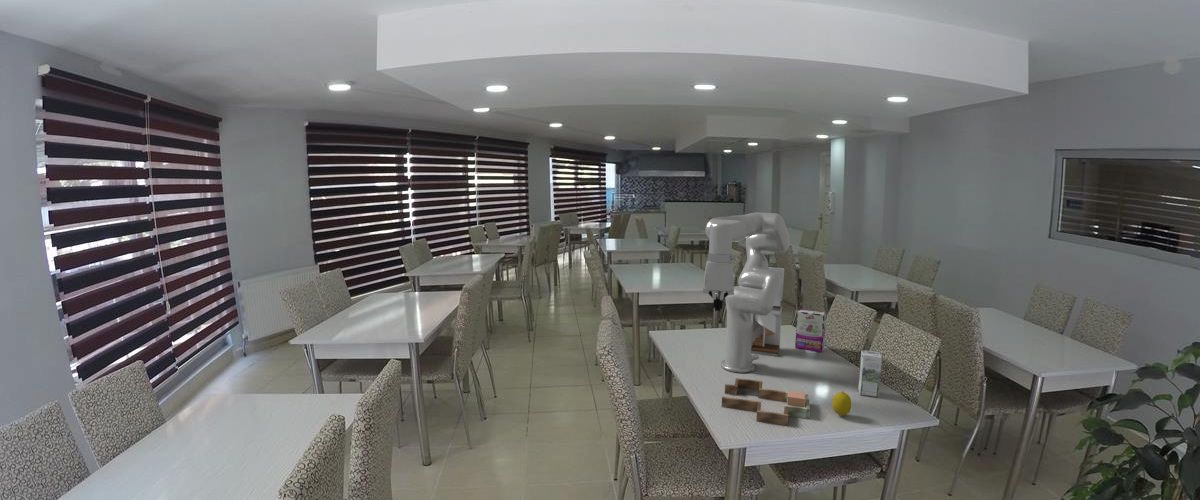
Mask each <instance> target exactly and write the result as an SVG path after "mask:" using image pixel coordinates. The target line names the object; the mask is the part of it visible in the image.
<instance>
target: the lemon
mask: <svg viewBox="0 0 1200 500" xmlns="http://www.w3.org/2000/svg"><path fill="white" fill-rule="evenodd" d="M831 408H832V410H833V412H834V413H835V414H837V415H838V416H839V417H843V416H846V415H848V414H849V413H850V412H851V409H852V399H851V397H850V396H849V395H848V394H847V393H845V392H844V391H840V392H836V393H835V394H834V395H833V397H832V400H831Z"/></svg>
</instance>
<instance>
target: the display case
mask: <svg viewBox="0 0 1200 500" xmlns="http://www.w3.org/2000/svg"><path fill="white" fill-rule="evenodd" d="M768 269H769V270H775V271H777V272H778V273H779V274H780V275H781V288H780V291H779V294H778V296H777V298H776V301H775V303H774V305H773V308H772V310H771V312H770V313H769V314H768V315H756V314H750V318H751V320H752V325H753V327H752V345H751V355H752V354H753V355H758V356H766V357H767V356H768V357H773V358H775V357H776V358H777V357H778V356H779V352H780V348H781V347H780V345H781V343H780V342H781V330H782V328H781V327H782V316H783V315H782V312H783V296H784V282H785V268H783V267H782V268H781V267H772V266H771V267H770V266H768Z"/></svg>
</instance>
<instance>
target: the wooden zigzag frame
mask: <svg viewBox="0 0 1200 500" xmlns="http://www.w3.org/2000/svg"><path fill="white" fill-rule="evenodd" d="M763 383H764V382H763V380H755V379H750V378H749V379H747V378H739V377H736V378H735V381H734V384H727V383H725V384H724V394H726V395H732V396H733V395H734V396H738V395H744V396H753V397H757V398H758V399H764V400H771V401H778V402H786V403H787V395H788V391H785V390H784V391H783V390H776V389H775V390H773V389H768V388H767V389H766V388H763ZM804 396H805V404H804V407H797V406H790V405H787V404H784V406H783V413H779V412H778V413H777V412H773V411H772V412H771V411H765V410H761V409H762V401H760V400H750V399H745V398H737V397H729V396H722V397H721V407H723V408H730V409H735V410H743V411H751V412H752V411H753V412H756V422H760V423H768V424H773V425H781V426H782V425H783V426H788V425H789V417H795V418H802V419H811V417H810V416H811V406H810V397H809V396H810V395H809V394H807V393H804Z"/></svg>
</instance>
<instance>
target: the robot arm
mask: <svg viewBox="0 0 1200 500" xmlns="http://www.w3.org/2000/svg"><path fill="white" fill-rule="evenodd" d="M785 222H786V221H784V218H783V217H782V215H780V214H779V213H775V212H759V211H757V212H755V211H754V212H751V213H746V214H737V215H729V216H720V217H718V216H717V217H714V218H711V219H709V220H708V222H707V223H706V225H705V235H706V236H707V238H708V239H709V245H708V247H709V248H708V260H706V264H705V267H704V277H703V289H702V293H705V294H707V295H709V296H710V297H711V299H712V300H713V304H712V305H713V306H712V308H713V309H714V312H720V311H721V310H723V305H724V304H723V303H724V299H725V305H726V306H725V307H726V334H725V335H726V337H725V357H724V360H722V361H721V362H720V367H721V368H722V369H724V370H725V371H728V372H731V373H740V374H741V373H743V374H744V373H750V372H753V371H754V370H755V364H754V363H753V361H756V360H759V359H760V358H759V357H760V355H758V354H753V355H752V354H751V345H752V327H753V325H752V320H751V314H756V315H768V314H769V313H770V312H771V310H772V308H773V305H774V303H775V301H776V298H777V296H778V294H779V291H780V288H781V275H780V274H779V273H778V272H777V271H775V270H769V269H768V267H769V261H768V259H767V258H766V256H765V254H763V253H762V252H773V253H785V252H787V251H788V250H789V248H790V246H791V238H790V233H789V231H788V228H787V224H786V223H785ZM744 240H745V249H746V257H747V258H746V262H745V264H744V266H743V268H742V270H741V272H740V275H739V277H738V280H737V283H738V285H735V265H734V262H733V261H734V260H736V257H737V256H736V255H734V254H732V251H733V250H732V249H733V248H732V247H733V243H739V242H742V241H744ZM717 292H720V295H719V297H718V295H717V294H718V293H717Z"/></svg>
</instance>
